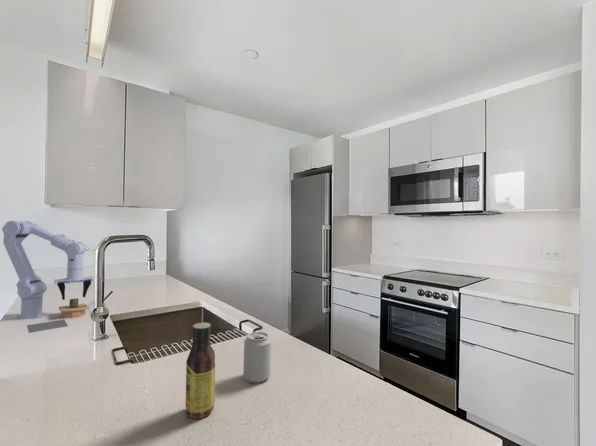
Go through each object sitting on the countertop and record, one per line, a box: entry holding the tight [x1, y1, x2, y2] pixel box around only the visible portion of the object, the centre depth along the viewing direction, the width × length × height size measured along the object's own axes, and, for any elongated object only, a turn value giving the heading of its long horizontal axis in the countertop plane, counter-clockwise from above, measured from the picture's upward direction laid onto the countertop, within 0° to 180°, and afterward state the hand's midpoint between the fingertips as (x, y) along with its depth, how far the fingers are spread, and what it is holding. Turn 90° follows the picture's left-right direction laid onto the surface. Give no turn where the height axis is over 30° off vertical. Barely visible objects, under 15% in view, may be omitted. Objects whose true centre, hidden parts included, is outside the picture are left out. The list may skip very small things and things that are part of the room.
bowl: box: [60, 309, 87, 319], centre depth 138 cm, size 9×9×4 cm
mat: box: [26, 319, 69, 334], centre depth 123 cm, size 12×12×1 cm
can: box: [243, 331, 272, 384], centre depth 84 cm, size 8×8×12 cm
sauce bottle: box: [185, 322, 216, 419], centre depth 68 cm, size 7×6×20 cm
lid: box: [58, 298, 90, 314], centre depth 138 cm, size 10×10×4 cm
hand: (73, 298), depth 138 cm, fingers open, 7 cm apart
